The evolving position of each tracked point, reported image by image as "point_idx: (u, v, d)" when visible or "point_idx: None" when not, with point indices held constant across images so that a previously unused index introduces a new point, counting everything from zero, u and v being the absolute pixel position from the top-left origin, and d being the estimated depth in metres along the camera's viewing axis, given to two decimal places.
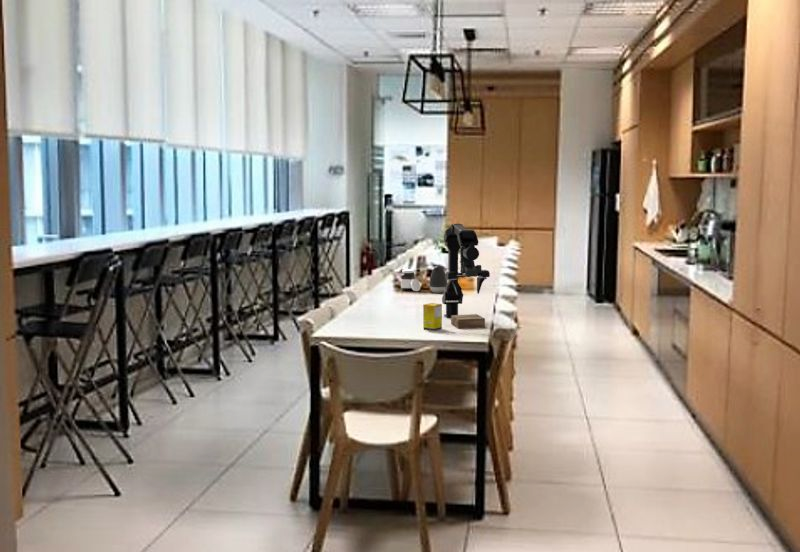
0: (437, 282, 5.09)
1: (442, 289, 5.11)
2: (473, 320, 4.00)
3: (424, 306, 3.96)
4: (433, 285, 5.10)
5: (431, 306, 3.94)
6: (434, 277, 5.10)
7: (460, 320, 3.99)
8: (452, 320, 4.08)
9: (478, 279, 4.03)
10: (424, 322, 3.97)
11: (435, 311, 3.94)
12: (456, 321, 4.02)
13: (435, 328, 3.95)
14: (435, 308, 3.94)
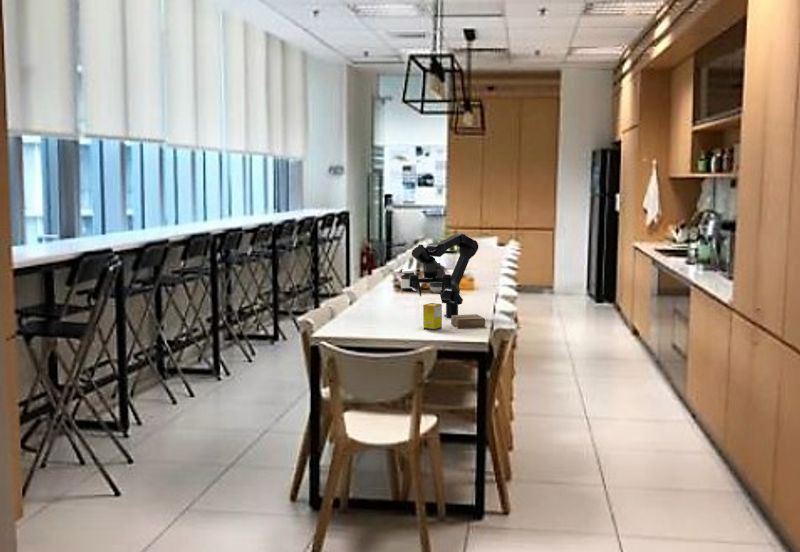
0: None
1: None
2: (473, 320, 4.00)
3: (424, 306, 3.96)
4: (433, 285, 5.10)
5: (431, 306, 3.94)
6: None
7: (460, 320, 3.99)
8: (452, 320, 4.08)
9: None
10: (424, 322, 3.97)
11: (435, 311, 3.94)
12: (456, 321, 4.02)
13: (435, 328, 3.95)
14: (435, 308, 3.94)
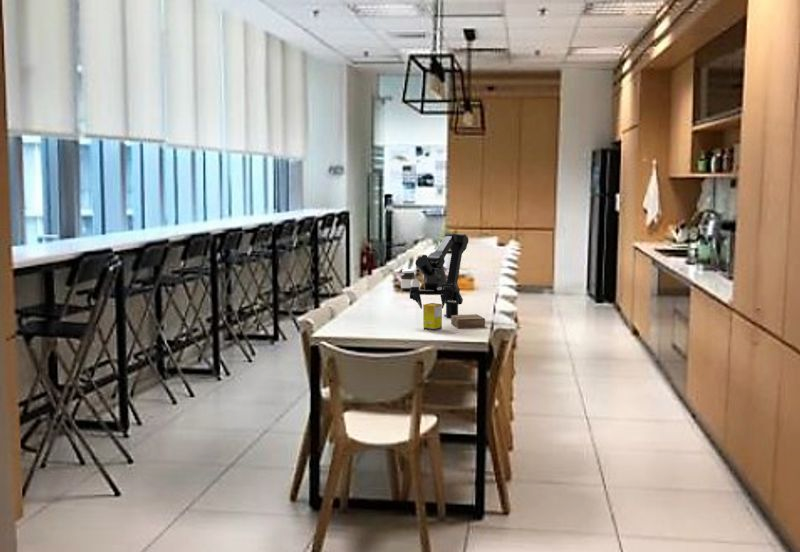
0: None
1: None
2: (473, 320, 4.00)
3: (424, 306, 3.96)
4: None
5: (431, 306, 3.94)
6: None
7: (460, 320, 3.99)
8: (452, 320, 4.08)
9: None
10: (424, 322, 3.97)
11: (435, 311, 3.94)
12: (456, 321, 4.02)
13: (435, 328, 3.95)
14: (435, 308, 3.94)
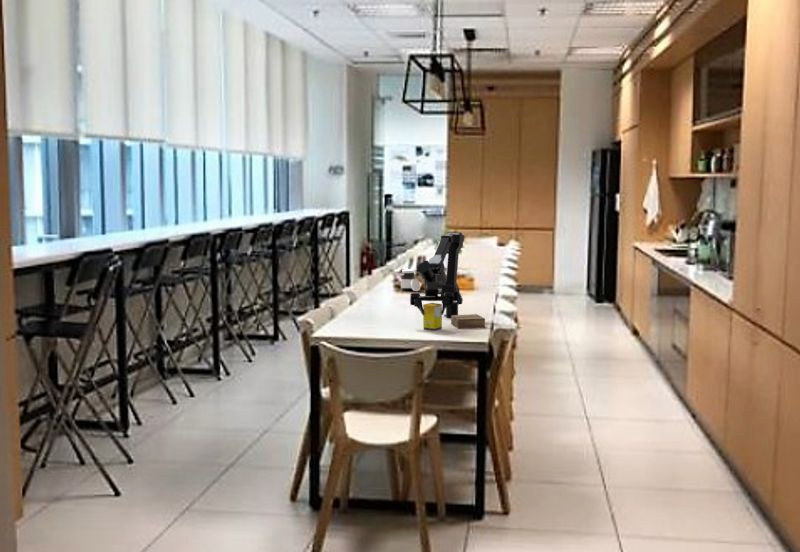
0: None
1: None
2: (473, 320, 4.00)
3: (424, 306, 3.96)
4: None
5: (431, 306, 3.94)
6: None
7: (460, 320, 3.99)
8: (452, 320, 4.08)
9: None
10: (424, 322, 3.97)
11: (435, 311, 3.94)
12: (456, 321, 4.02)
13: (435, 328, 3.95)
14: (435, 308, 3.94)
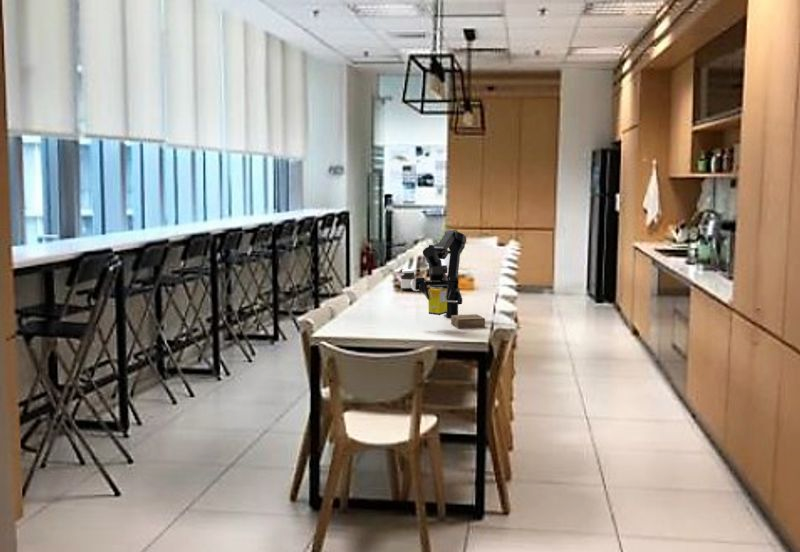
0: None
1: None
2: (473, 320, 4.00)
3: (429, 291, 3.96)
4: None
5: (436, 291, 3.94)
6: None
7: (460, 320, 3.99)
8: (452, 320, 4.08)
9: None
10: (429, 307, 3.97)
11: (440, 296, 3.94)
12: (456, 321, 4.02)
13: (440, 313, 3.95)
14: (440, 292, 3.94)
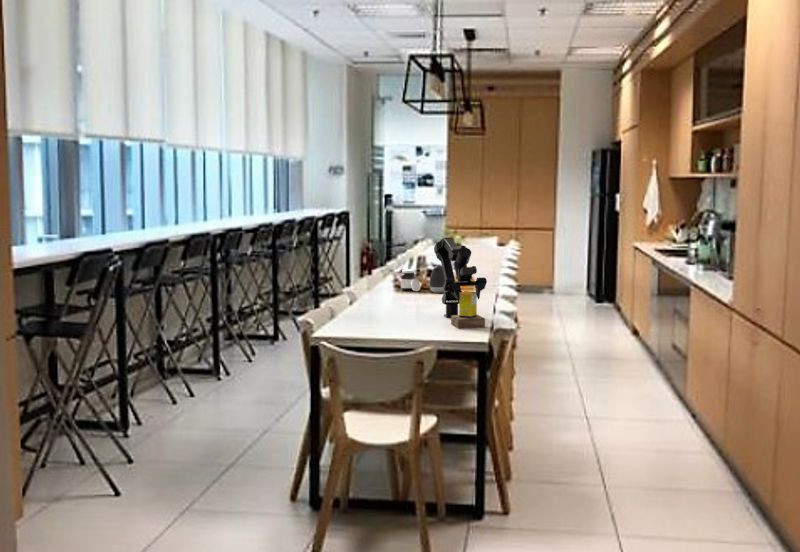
0: (437, 282, 5.09)
1: (442, 289, 5.11)
2: (473, 320, 4.00)
3: (460, 294, 4.03)
4: (433, 285, 5.10)
5: (468, 294, 4.01)
6: (434, 277, 5.10)
7: (460, 320, 3.99)
8: (452, 320, 4.08)
9: (476, 288, 4.08)
10: (460, 310, 4.04)
11: (472, 299, 4.02)
12: (456, 321, 4.02)
13: (472, 315, 4.03)
14: (472, 296, 4.01)
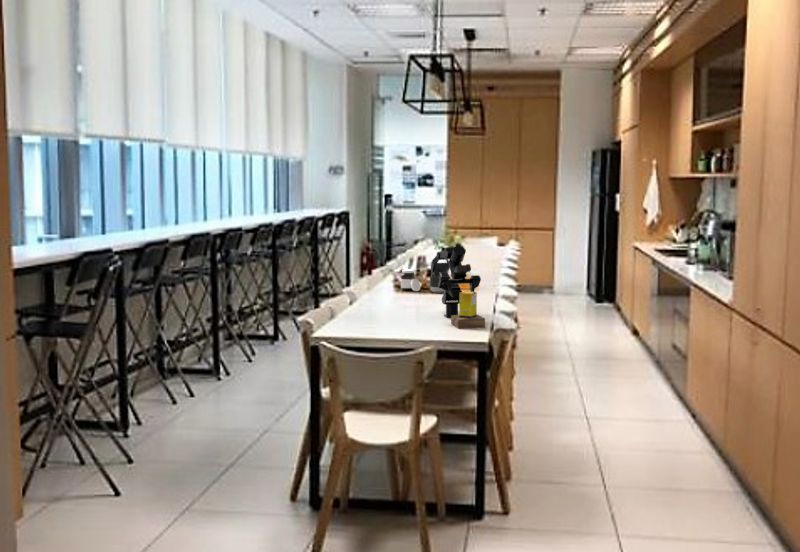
0: (437, 282, 5.09)
1: (442, 289, 5.11)
2: (473, 320, 4.00)
3: (460, 294, 4.03)
4: (433, 285, 5.10)
5: (468, 294, 4.01)
6: (434, 277, 5.10)
7: (460, 320, 3.99)
8: (452, 320, 4.08)
9: (471, 285, 4.17)
10: (460, 310, 4.04)
11: (472, 299, 4.02)
12: (456, 321, 4.02)
13: (472, 315, 4.03)
14: (472, 296, 4.01)
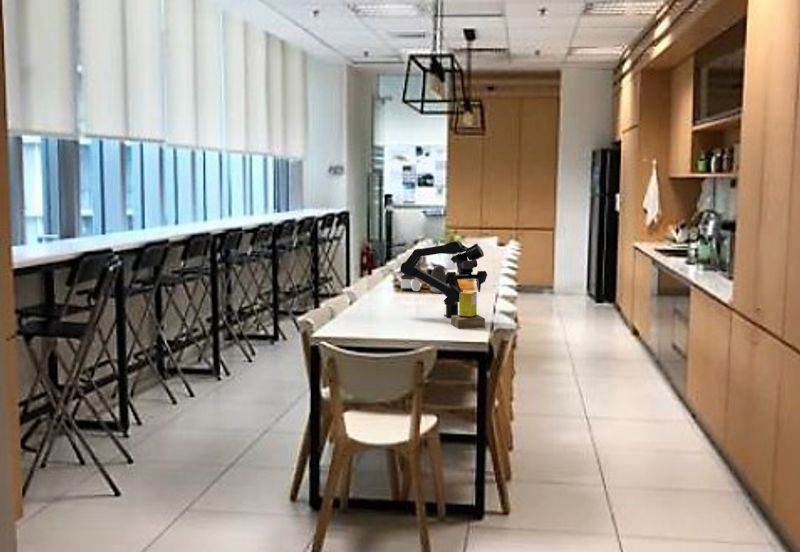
0: None
1: None
2: (473, 320, 4.00)
3: (460, 294, 4.03)
4: None
5: (468, 294, 4.01)
6: None
7: (460, 320, 3.99)
8: (452, 320, 4.08)
9: (477, 281, 4.20)
10: (460, 310, 4.04)
11: (472, 299, 4.02)
12: (456, 321, 4.02)
13: (472, 315, 4.03)
14: (472, 296, 4.01)
